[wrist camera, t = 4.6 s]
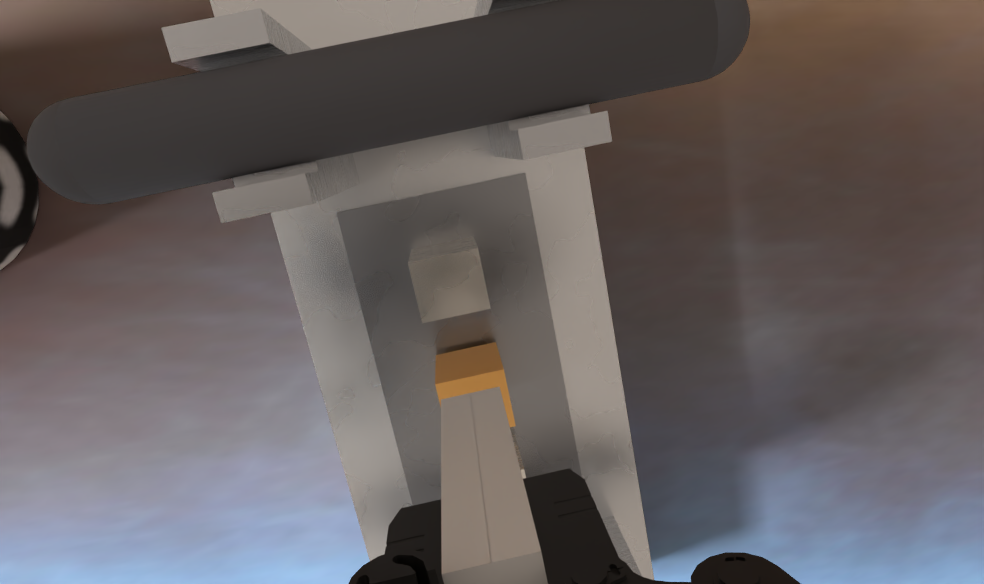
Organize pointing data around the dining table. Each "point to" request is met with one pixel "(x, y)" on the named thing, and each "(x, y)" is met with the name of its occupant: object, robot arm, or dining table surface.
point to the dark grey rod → (377, 93)
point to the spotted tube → (15, 193)
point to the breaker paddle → (472, 374)
